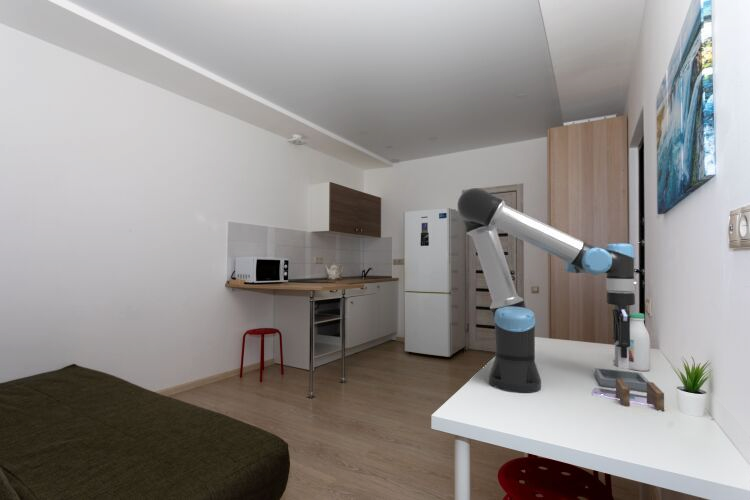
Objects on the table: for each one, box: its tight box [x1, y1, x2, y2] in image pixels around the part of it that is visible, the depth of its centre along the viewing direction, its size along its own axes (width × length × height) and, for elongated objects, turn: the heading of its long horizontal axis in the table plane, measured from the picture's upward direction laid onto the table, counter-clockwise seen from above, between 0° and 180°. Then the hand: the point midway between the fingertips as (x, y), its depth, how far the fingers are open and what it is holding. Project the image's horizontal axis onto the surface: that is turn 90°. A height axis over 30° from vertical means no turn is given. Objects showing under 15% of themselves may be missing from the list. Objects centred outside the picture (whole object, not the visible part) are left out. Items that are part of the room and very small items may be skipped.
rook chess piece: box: [612, 341, 630, 368], centre depth 120 cm, size 4×4×8 cm
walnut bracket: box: [615, 378, 665, 412], centre depth 103 cm, size 9×10×4 cm
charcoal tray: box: [594, 367, 650, 393], centre depth 119 cm, size 13×13×2 cm
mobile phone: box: [590, 387, 654, 407], centre depth 107 cm, size 8×1×15 cm
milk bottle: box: [629, 312, 651, 372], centre depth 137 cm, size 8×8×20 cm
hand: (621, 365), depth 119 cm, fingers closed on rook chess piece, 4 cm apart
